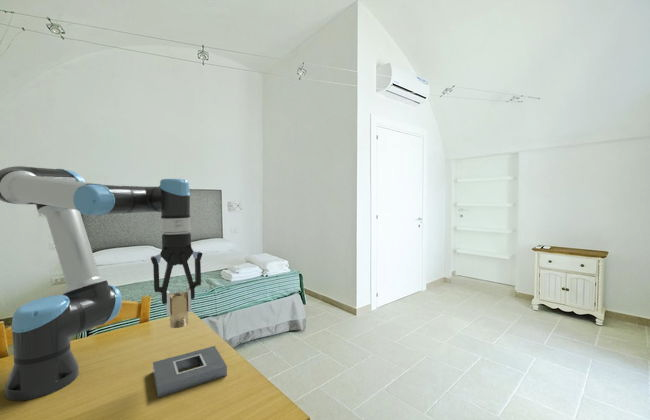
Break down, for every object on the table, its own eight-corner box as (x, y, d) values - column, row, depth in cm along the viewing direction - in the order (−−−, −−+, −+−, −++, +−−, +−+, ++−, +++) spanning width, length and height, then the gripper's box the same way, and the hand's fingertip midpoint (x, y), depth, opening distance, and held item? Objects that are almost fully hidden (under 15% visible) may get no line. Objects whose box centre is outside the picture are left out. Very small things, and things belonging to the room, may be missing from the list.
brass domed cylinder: (169, 323, 88) (168, 293, 88) (186, 319, 91) (186, 290, 91) (171, 329, 84) (170, 297, 84) (189, 325, 87) (188, 294, 87)
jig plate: (153, 371, 91) (152, 361, 90) (214, 354, 101) (214, 345, 101) (157, 397, 79) (157, 386, 79) (226, 375, 89) (226, 365, 89)
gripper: (140, 236, 79) (143, 323, 80) (211, 231, 88) (213, 309, 89) (139, 233, 85) (142, 314, 86) (206, 229, 95) (208, 302, 96)
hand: (178, 312), depth 88 cm, fingers closed on brass domed cylinder, 5 cm apart
